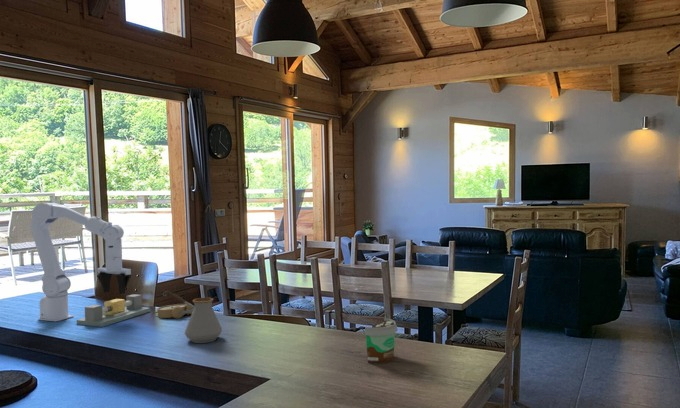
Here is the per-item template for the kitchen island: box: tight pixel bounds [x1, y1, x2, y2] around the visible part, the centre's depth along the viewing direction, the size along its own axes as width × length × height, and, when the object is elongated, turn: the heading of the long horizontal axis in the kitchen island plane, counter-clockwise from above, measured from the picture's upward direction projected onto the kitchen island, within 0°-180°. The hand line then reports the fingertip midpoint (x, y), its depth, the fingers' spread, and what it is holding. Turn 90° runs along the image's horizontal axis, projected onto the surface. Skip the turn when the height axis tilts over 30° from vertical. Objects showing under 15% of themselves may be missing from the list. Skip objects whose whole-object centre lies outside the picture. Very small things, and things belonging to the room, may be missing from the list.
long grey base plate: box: [76, 294, 151, 328], centre depth 190 cm, size 12×24×6 cm, turn 160°
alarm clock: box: [154, 303, 194, 320], centre depth 192 cm, size 11×5×15 cm
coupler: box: [103, 298, 126, 316], centre depth 190 cm, size 4×7×5 cm, turn 160°
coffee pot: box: [162, 290, 223, 344], centre depth 161 cm, size 21×12×15 cm, turn 67°
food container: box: [364, 317, 398, 364], centre depth 138 cm, size 12×6×10 cm, turn 148°
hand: (114, 292), depth 190 cm, fingers open, 7 cm apart
